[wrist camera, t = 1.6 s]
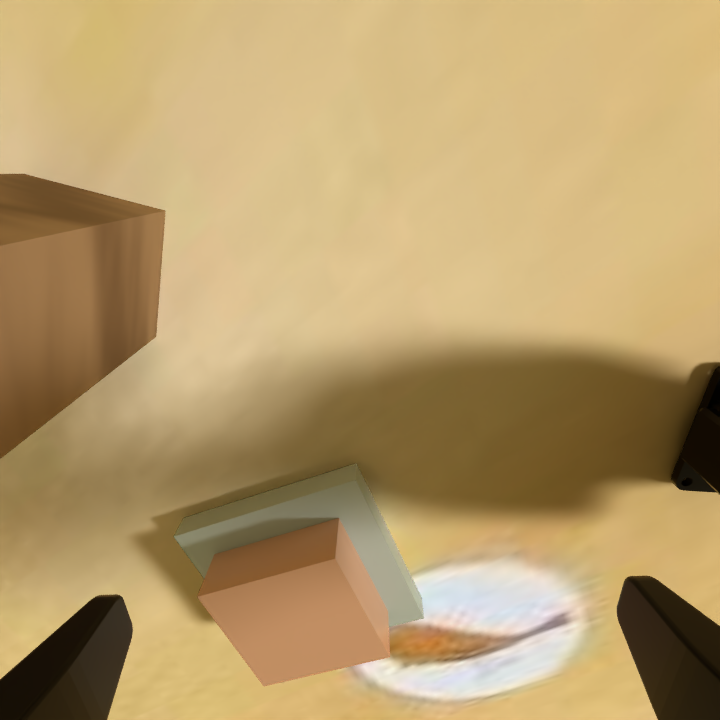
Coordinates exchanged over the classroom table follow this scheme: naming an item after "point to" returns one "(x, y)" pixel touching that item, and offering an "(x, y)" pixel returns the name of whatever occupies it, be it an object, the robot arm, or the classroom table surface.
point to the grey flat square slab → (303, 509)
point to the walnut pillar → (69, 295)
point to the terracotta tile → (297, 604)
